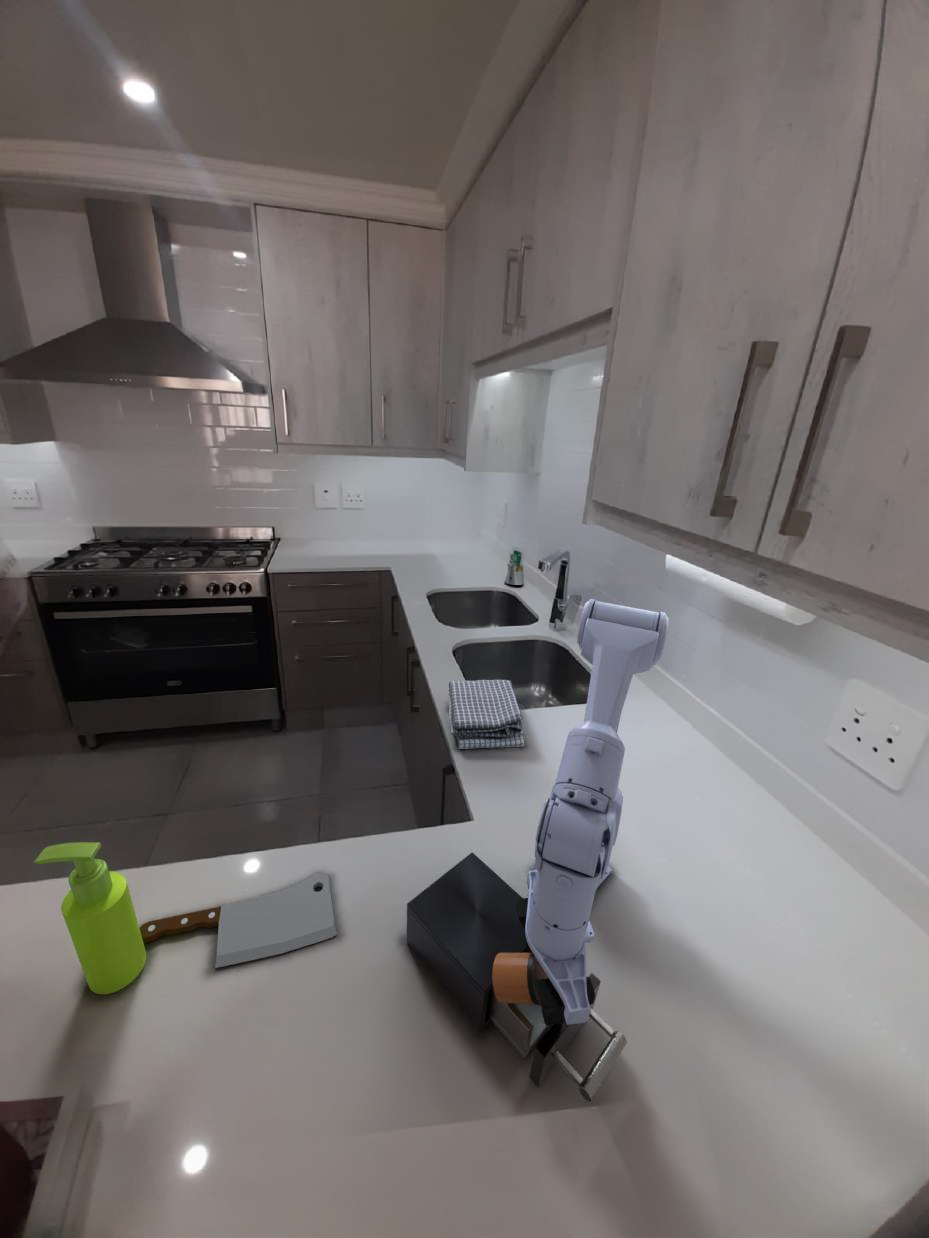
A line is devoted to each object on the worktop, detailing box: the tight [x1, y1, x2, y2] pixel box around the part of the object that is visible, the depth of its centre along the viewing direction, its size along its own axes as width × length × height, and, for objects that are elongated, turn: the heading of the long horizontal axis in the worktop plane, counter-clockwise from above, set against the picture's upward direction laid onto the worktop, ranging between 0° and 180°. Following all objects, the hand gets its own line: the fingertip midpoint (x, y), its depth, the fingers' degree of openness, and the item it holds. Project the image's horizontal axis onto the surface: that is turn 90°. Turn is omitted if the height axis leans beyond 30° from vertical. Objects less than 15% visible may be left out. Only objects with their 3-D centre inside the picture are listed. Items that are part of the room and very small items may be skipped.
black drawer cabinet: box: [406, 851, 527, 1033], centre depth 62 cm, size 14×12×8 cm
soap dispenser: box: [33, 841, 147, 995], centre depth 55 cm, size 6×7×20 cm
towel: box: [448, 679, 526, 750], centre depth 106 cm, size 15×18×8 cm
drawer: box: [486, 951, 628, 1103], centre depth 55 cm, size 17×10×6 cm, turn 44°
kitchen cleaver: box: [139, 871, 338, 969], centre depth 64 cm, size 24×1×10 cm
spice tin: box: [492, 952, 547, 1005], centre depth 52 cm, size 4×4×4 cm
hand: (544, 985), depth 54 cm, fingers open, 6 cm apart
